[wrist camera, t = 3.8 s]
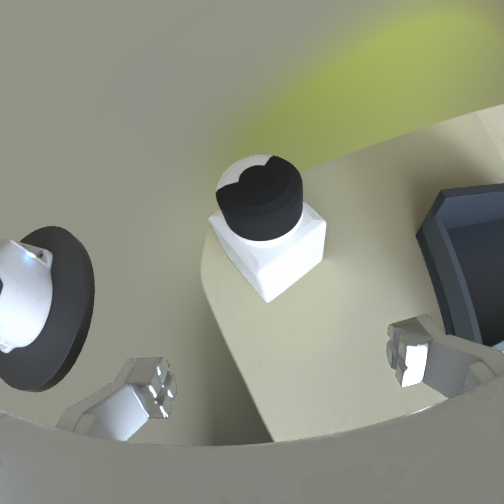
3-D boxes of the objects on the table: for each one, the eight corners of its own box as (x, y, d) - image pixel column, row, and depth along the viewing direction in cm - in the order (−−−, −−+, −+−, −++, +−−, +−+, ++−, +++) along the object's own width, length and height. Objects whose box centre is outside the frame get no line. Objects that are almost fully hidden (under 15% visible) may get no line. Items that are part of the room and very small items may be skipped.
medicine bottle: (323, 259, 29) (333, 180, 18) (267, 304, 28) (245, 245, 17) (278, 215, 32) (265, 130, 22) (225, 254, 31) (187, 179, 20)
